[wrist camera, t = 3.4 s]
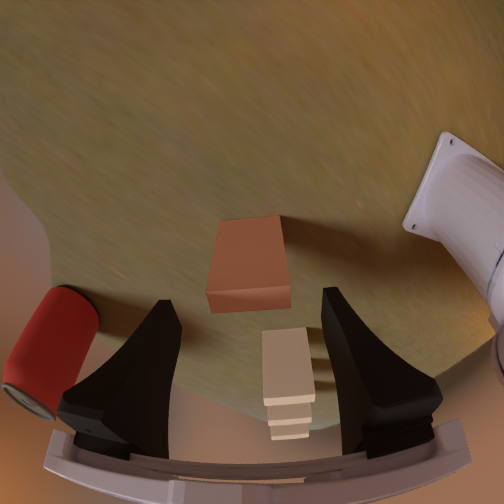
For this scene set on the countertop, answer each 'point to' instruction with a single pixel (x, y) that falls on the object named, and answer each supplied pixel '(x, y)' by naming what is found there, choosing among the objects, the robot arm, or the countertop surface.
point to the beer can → (50, 352)
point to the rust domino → (249, 267)
